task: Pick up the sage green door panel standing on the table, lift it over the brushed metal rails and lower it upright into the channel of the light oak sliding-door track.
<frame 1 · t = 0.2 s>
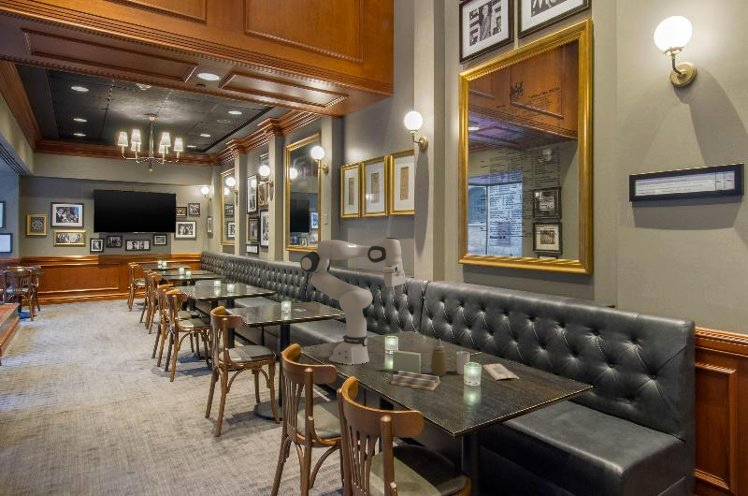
hand: (396, 294, 231), 38 cm above the table, fingers open, 8 cm apart
door panel: (406, 372, 224), on the table
newspaper: (500, 374, 223), on the table
squeeze bottle: (439, 375, 220), on the table
grey cylinder: (462, 373, 223), on the table
door track: (415, 383, 207), on the table
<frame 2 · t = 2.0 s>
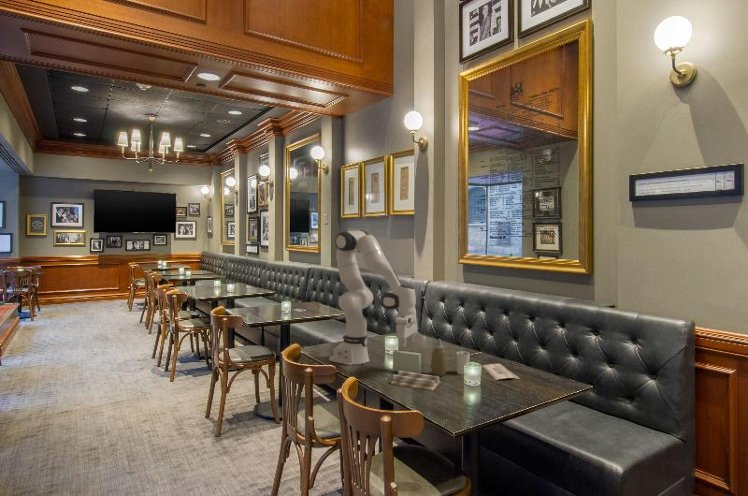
hand: (407, 344, 223), 14 cm above the table, fingers open, 8 cm apart
nothing on the table moved.
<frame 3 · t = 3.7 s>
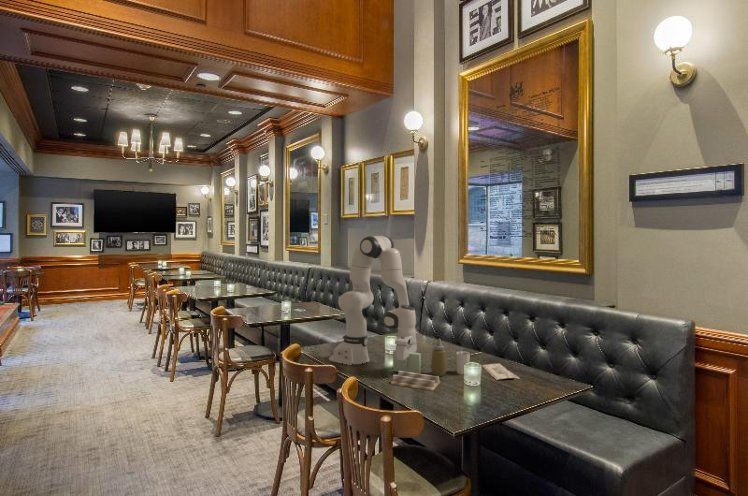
hand: (406, 364, 224), 4 cm above the table, fingers closed on door panel, 3 cm apart
door panel: (406, 371, 224), on the table, touching gripper
everything else where it was.
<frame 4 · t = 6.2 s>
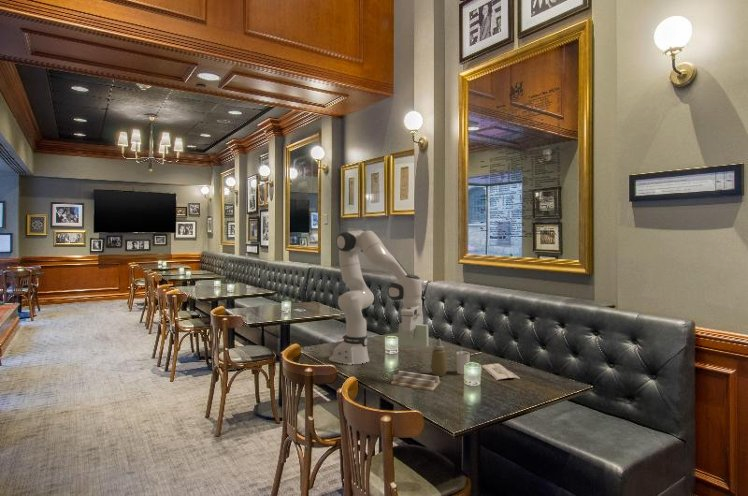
hand: (413, 337, 213), 20 cm above the table, fingers closed on door panel, 3 cm apart
door panel: (413, 344, 213), point 17 cm above the table, touching gripper
everything else where it was.
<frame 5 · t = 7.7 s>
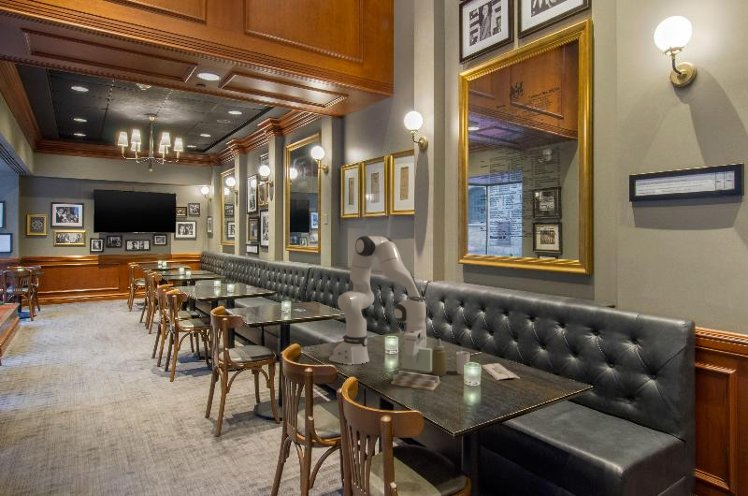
hand: (416, 361, 207), 10 cm above the table, fingers closed on door panel, 3 cm apart
door panel: (416, 368, 207), point 7 cm above the table, touching gripper
everything else where it was.
when the fingers open (6 cm above the table, at t = 8.8 s): door panel stays where it is, resting on door track.
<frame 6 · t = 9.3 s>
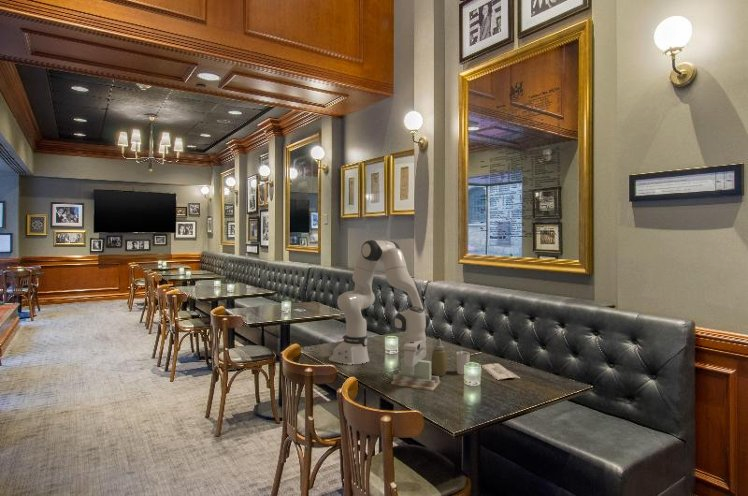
hand: (415, 371, 207), 6 cm above the table, fingers open, 8 cm apart
door panel: (416, 381, 207), point 1 cm above the table, touching door track
everything else where it was.
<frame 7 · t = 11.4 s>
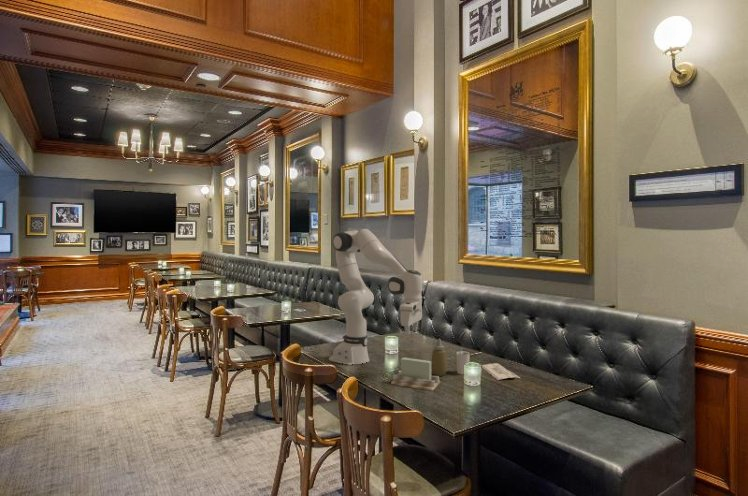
hand: (411, 332, 215), 22 cm above the table, fingers open, 8 cm apart
nothing on the table moved.
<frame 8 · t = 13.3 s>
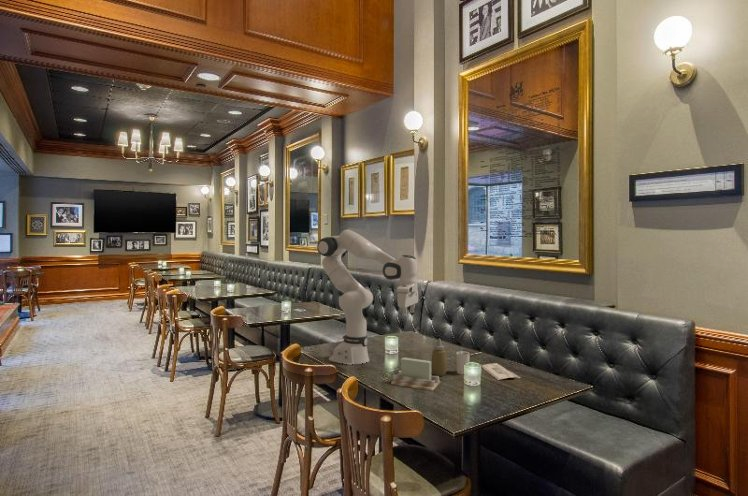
hand: (408, 314, 225), 29 cm above the table, fingers open, 8 cm apart
nothing on the table moved.
at the end: door panel inside the target area on the door track (0.1 cm from its centre), point 1.0 cm above the door track's base; door panel tilted 0°; the gripper is holding nothing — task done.
